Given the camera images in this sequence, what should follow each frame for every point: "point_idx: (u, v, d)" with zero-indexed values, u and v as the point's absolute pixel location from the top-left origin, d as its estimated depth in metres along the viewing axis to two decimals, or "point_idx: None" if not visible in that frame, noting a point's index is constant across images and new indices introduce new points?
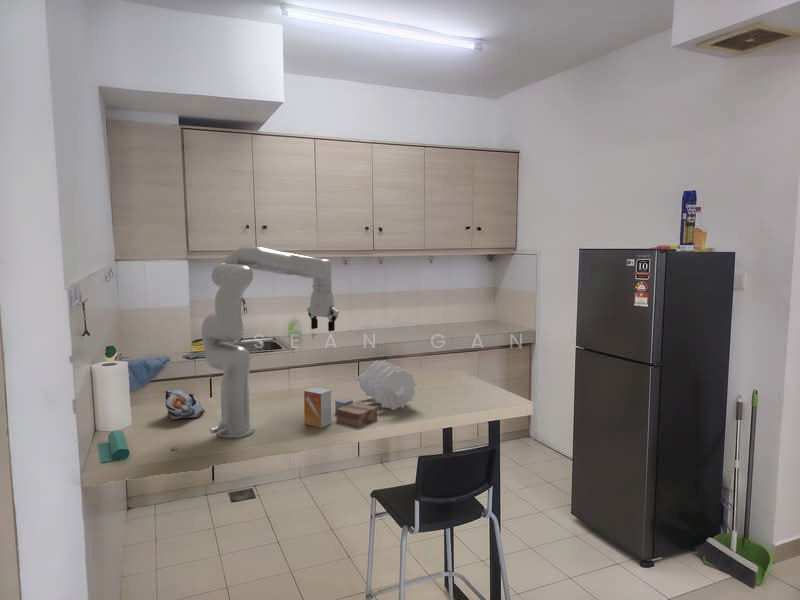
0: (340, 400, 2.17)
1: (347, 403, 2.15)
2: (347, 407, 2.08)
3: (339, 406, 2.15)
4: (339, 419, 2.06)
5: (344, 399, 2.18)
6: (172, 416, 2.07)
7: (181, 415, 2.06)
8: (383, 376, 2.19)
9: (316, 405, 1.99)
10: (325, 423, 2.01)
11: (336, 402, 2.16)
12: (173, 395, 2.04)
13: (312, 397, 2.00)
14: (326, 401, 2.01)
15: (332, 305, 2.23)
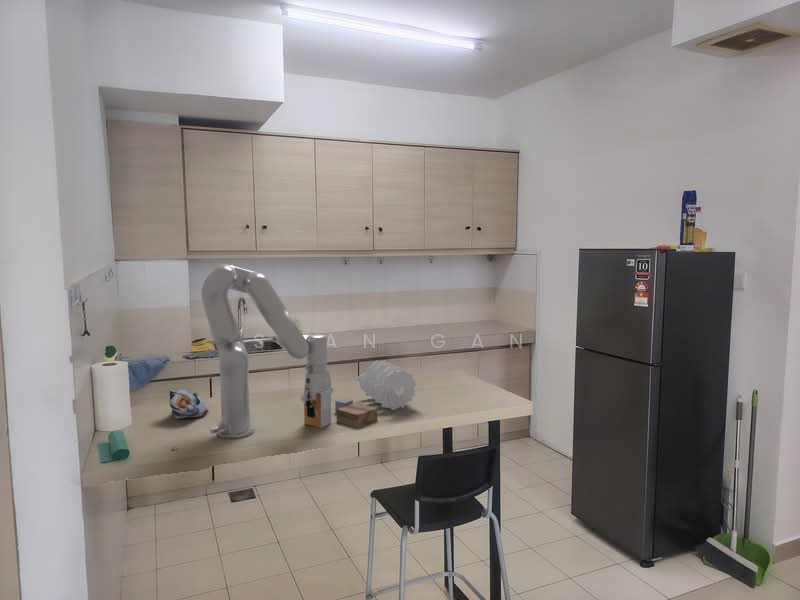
0: (341, 400, 2.17)
1: (347, 403, 2.15)
2: (347, 407, 2.08)
3: (339, 406, 2.15)
4: (339, 419, 2.06)
5: (344, 399, 2.18)
6: (176, 416, 2.07)
7: (186, 415, 2.06)
8: (383, 376, 2.19)
9: (316, 405, 1.99)
10: (325, 423, 2.01)
11: (336, 402, 2.16)
12: (178, 395, 2.05)
13: None
14: (326, 401, 2.01)
15: None
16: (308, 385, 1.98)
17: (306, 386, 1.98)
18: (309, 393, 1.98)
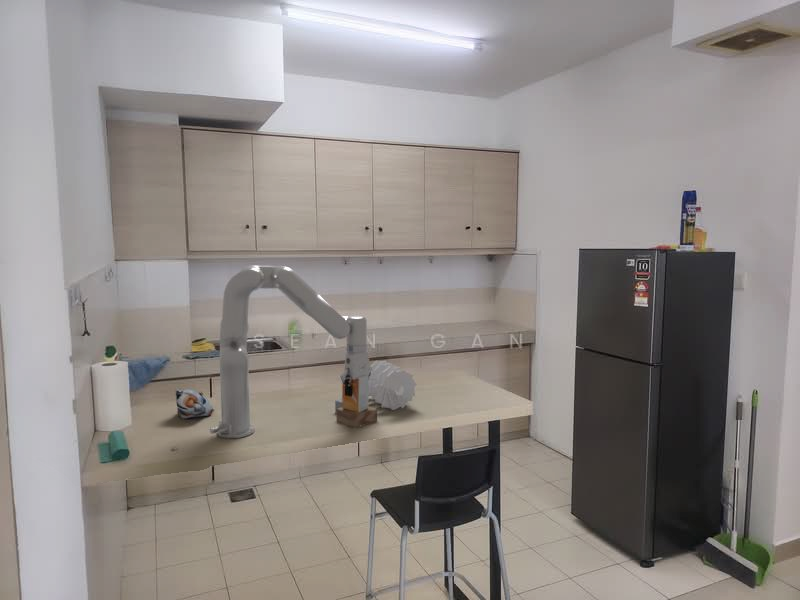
0: (341, 400, 2.17)
1: None
2: None
3: (339, 406, 2.15)
4: (339, 419, 2.06)
5: None
6: (183, 415, 2.08)
7: (192, 414, 2.07)
8: (383, 376, 2.19)
9: (354, 389, 2.03)
10: (363, 408, 2.05)
11: (336, 402, 2.16)
12: (185, 394, 2.05)
13: None
14: (364, 386, 2.04)
15: None
16: (348, 365, 2.01)
17: (347, 366, 2.02)
18: (349, 373, 2.01)
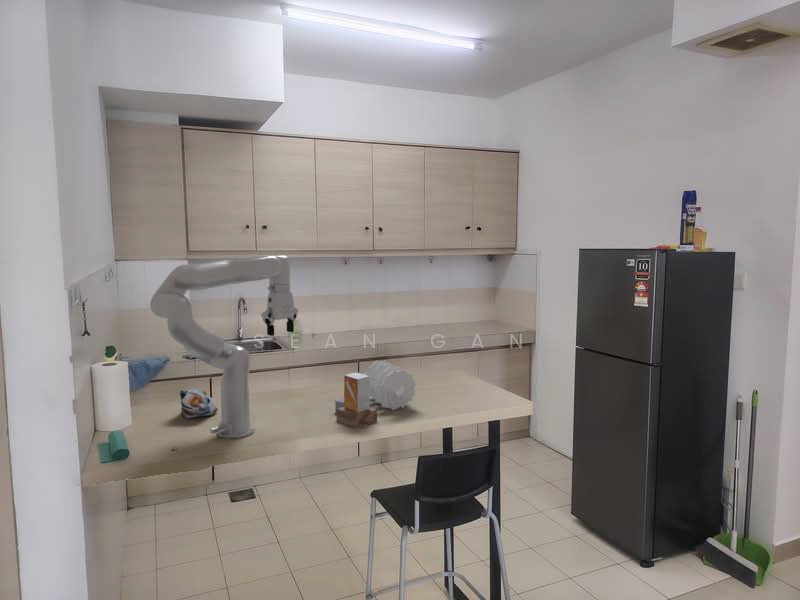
0: (341, 400, 2.17)
1: None
2: None
3: (339, 406, 2.15)
4: (339, 418, 2.06)
5: None
6: (187, 415, 2.08)
7: (197, 413, 2.08)
8: (383, 376, 2.19)
9: (354, 390, 2.02)
10: (363, 409, 2.04)
11: (336, 402, 2.16)
12: (189, 394, 2.06)
13: (350, 382, 2.03)
14: (364, 387, 2.03)
15: None
16: (270, 304, 2.00)
17: (269, 305, 2.00)
18: (271, 312, 2.00)
